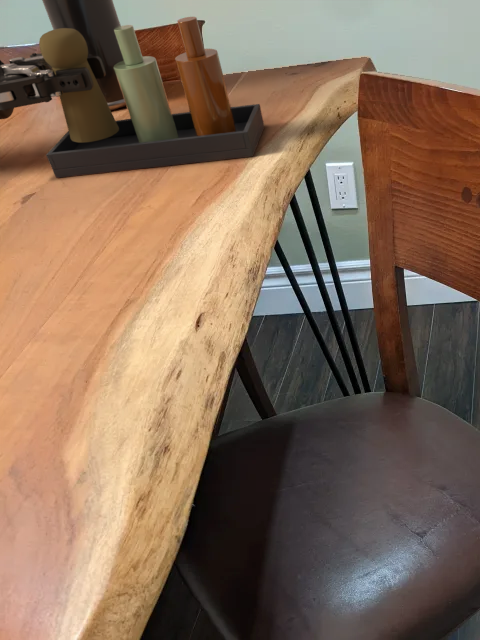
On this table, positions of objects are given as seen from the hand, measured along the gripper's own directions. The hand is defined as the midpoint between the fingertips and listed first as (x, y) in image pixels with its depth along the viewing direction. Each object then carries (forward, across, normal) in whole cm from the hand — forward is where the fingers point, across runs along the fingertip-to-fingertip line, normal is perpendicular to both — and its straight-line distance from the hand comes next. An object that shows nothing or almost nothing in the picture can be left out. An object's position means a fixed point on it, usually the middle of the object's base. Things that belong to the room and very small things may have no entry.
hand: (96, 72), depth 82 cm
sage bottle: (+5, 0, +8) cm, 10 cm away
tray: (+5, 0, +9) cm, 11 cm away
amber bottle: (+13, 0, +8) cm, 15 cm away
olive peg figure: (-3, 0, +7) cm, 7 cm away
